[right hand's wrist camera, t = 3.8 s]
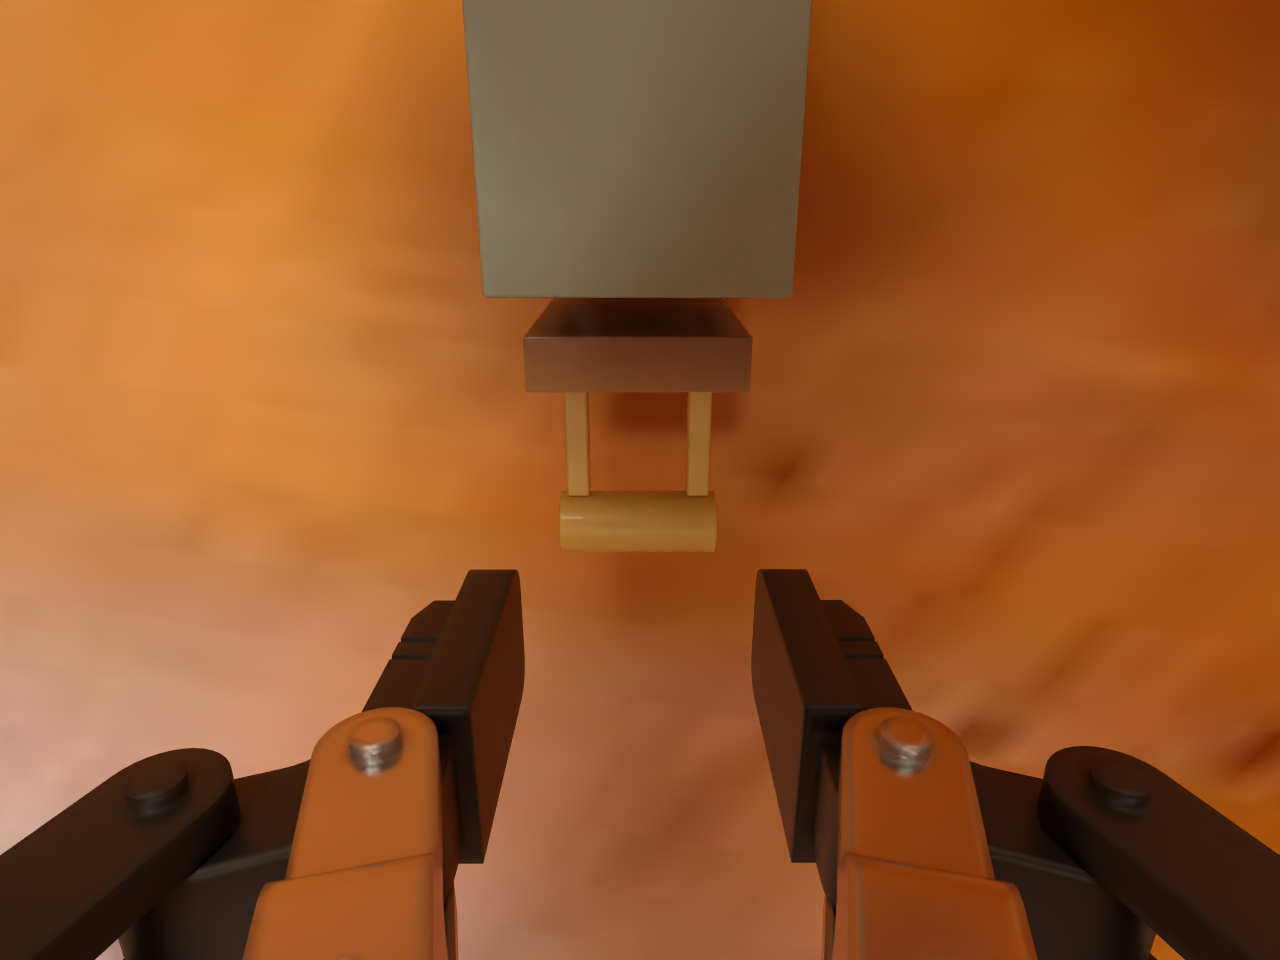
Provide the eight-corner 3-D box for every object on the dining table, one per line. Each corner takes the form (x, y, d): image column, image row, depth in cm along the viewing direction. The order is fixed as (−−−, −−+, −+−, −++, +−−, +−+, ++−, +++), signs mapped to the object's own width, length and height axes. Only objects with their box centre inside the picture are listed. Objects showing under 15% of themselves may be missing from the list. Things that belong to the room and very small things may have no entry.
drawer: (708, 481, 27) (739, 611, 18) (568, 481, 27) (536, 611, 18) (737, -384, 19) (812, -830, 11) (539, -385, 19) (460, -830, 11)
